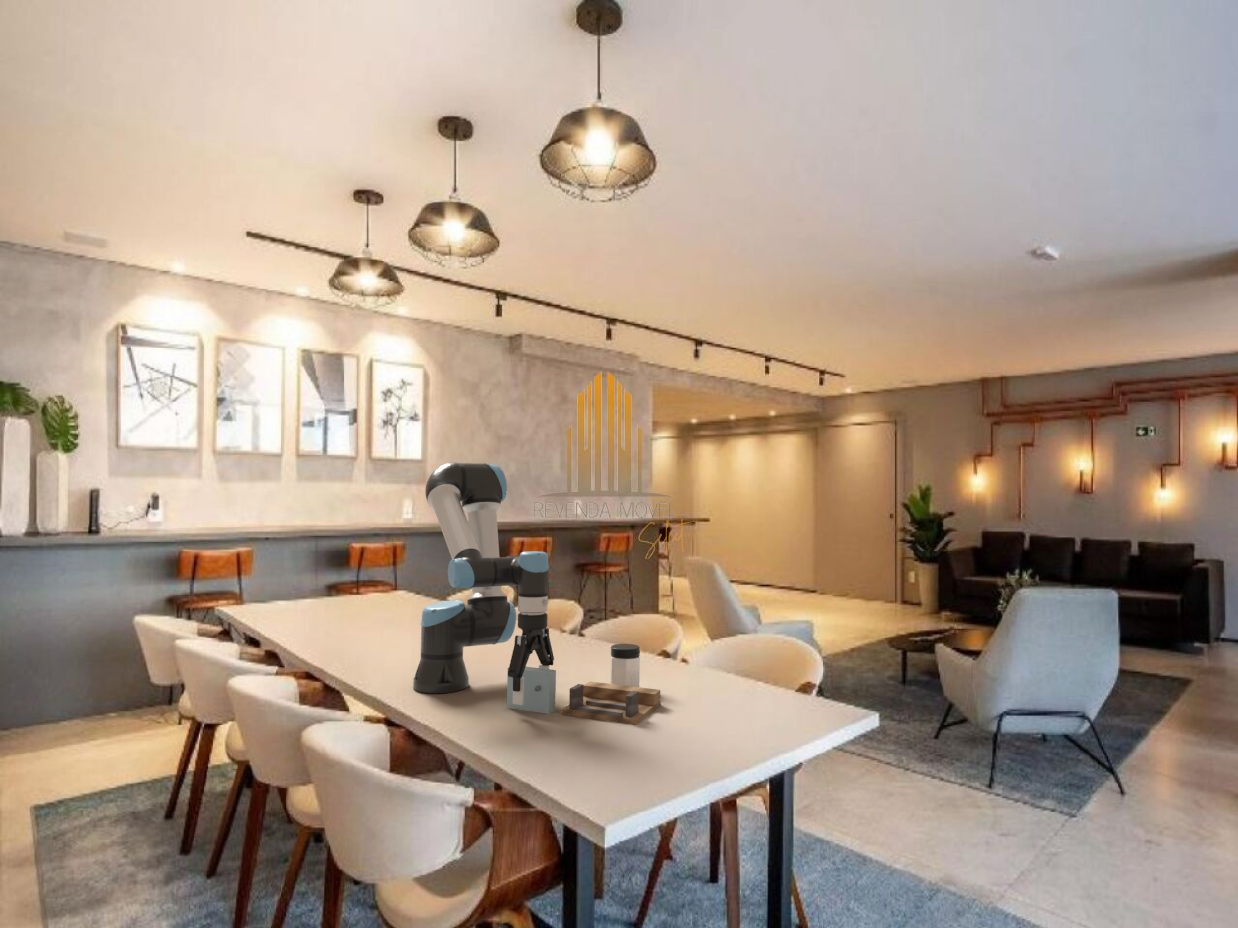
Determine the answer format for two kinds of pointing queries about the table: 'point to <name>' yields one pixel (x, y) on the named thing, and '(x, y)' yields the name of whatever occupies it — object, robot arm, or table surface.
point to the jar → (625, 664)
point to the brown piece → (612, 702)
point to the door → (535, 690)
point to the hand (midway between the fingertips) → (531, 697)
